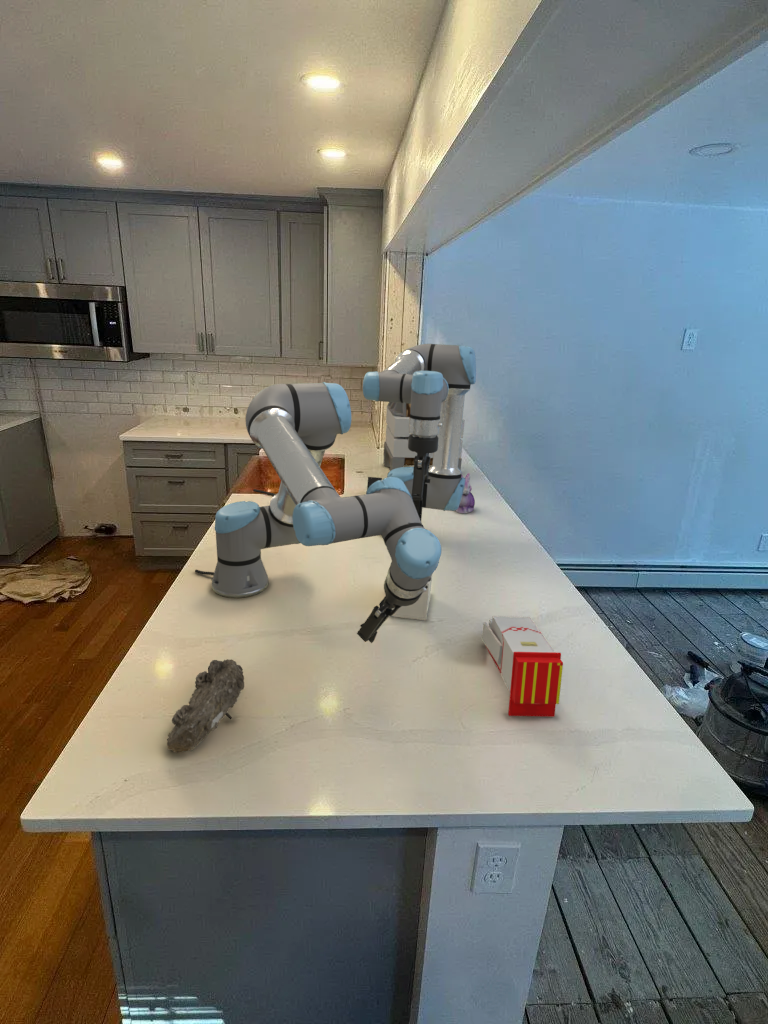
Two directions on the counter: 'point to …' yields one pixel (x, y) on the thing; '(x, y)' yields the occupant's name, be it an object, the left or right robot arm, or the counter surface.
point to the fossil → (206, 705)
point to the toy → (525, 665)
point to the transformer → (402, 437)
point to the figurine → (466, 498)
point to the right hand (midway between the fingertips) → (418, 514)
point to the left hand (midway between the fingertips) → (390, 616)
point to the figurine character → (372, 481)
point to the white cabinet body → (416, 607)
